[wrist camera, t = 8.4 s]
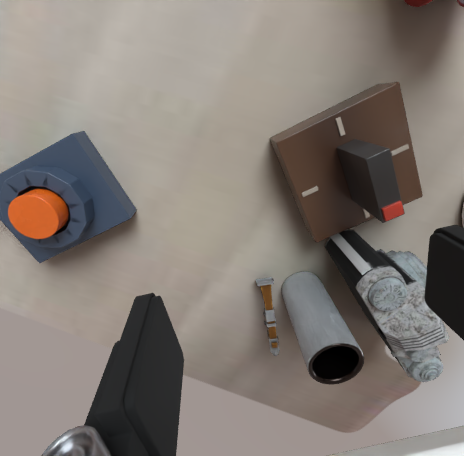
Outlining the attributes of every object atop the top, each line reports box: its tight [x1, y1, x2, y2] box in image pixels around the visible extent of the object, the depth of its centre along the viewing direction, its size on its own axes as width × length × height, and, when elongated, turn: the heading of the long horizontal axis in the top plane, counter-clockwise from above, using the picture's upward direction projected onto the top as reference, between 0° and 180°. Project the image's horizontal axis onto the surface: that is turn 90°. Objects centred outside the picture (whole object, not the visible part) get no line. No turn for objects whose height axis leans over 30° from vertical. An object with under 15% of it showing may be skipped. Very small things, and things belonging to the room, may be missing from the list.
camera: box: [325, 230, 449, 382], centre depth 27 cm, size 15×7×10 cm, turn 34°
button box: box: [0, 131, 137, 263], centre depth 25 cm, size 10×8×4 cm
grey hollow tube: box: [282, 272, 364, 384], centre depth 28 cm, size 4×4×10 cm
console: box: [270, 82, 423, 242], centre depth 25 cm, size 10×10×3 cm
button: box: [8, 189, 69, 239], centre depth 23 cm, size 4×4×2 cm
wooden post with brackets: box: [256, 277, 280, 356], centre depth 32 cm, size 2×8×4 cm, turn 8°
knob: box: [337, 139, 404, 223], centre depth 22 cm, size 5×2×5 cm, turn 25°
